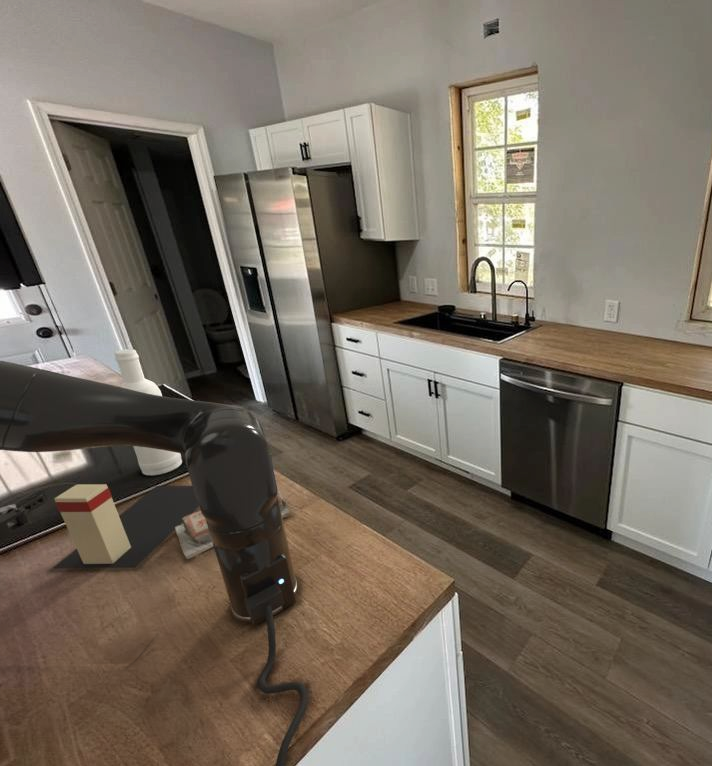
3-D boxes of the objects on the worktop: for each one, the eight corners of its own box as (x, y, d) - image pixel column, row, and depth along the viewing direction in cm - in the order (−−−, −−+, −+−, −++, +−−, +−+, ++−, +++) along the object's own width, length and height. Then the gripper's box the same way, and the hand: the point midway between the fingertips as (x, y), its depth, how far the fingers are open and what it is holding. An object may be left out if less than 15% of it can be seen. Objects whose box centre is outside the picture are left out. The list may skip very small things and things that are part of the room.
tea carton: (113, 564, 73) (85, 498, 68) (82, 564, 72) (53, 498, 67) (132, 547, 77) (107, 484, 71) (103, 547, 76) (76, 484, 71)
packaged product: (271, 477, 91) (288, 497, 84) (275, 495, 93) (291, 516, 86) (169, 513, 79) (179, 540, 72) (176, 533, 81) (186, 561, 74)
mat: (136, 568, 72) (135, 567, 72) (52, 569, 72) (52, 568, 72) (220, 487, 95) (220, 486, 95) (157, 487, 94) (157, 486, 94)
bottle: (188, 456, 106) (155, 345, 95) (174, 473, 99) (136, 355, 88) (151, 460, 104) (113, 347, 93) (134, 478, 97) (91, 357, 86)
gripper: (-102, 558, 43) (54, 472, 58) (-246, 558, 43) (-51, 471, 58) (-69, 611, 46) (72, 515, 61) (-204, 610, 45) (-28, 514, 61)
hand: (12, 494), depth 59 cm, fingers open, 8 cm apart
